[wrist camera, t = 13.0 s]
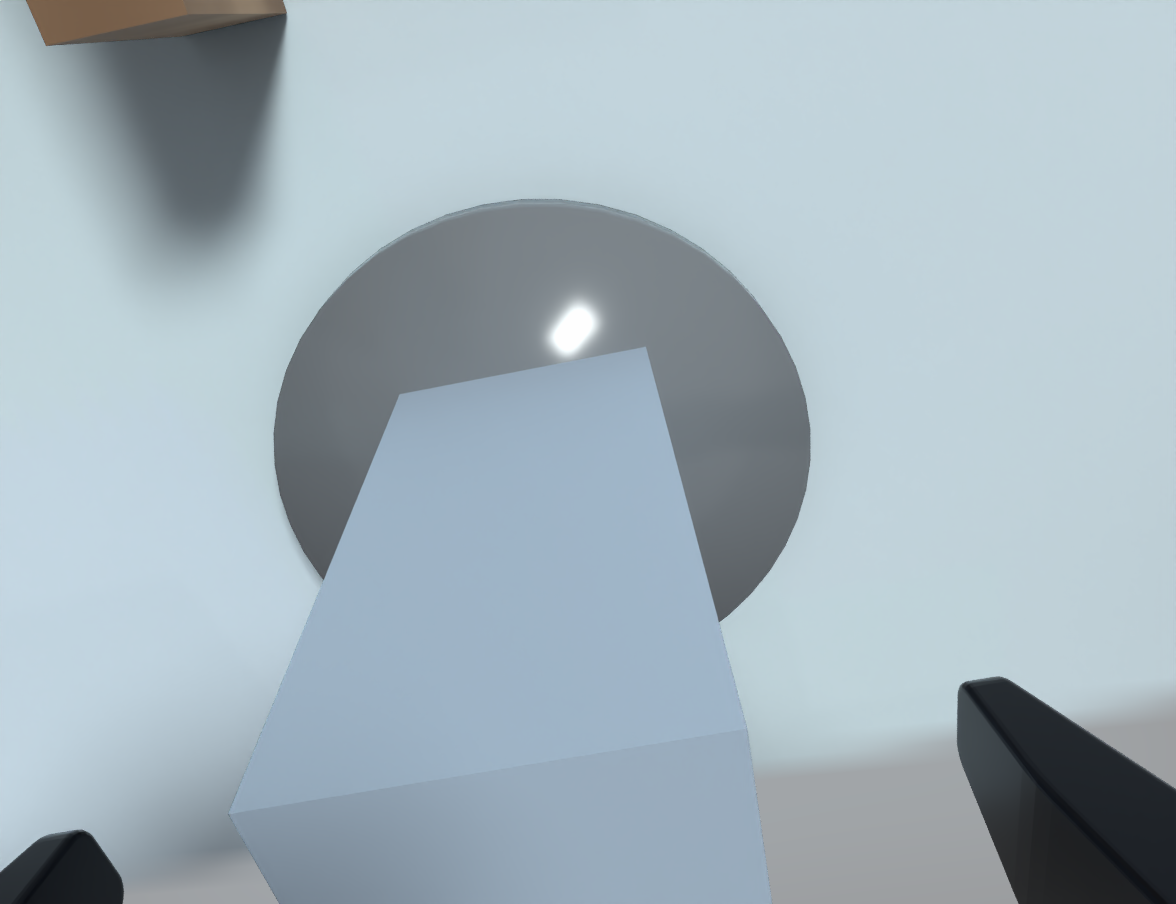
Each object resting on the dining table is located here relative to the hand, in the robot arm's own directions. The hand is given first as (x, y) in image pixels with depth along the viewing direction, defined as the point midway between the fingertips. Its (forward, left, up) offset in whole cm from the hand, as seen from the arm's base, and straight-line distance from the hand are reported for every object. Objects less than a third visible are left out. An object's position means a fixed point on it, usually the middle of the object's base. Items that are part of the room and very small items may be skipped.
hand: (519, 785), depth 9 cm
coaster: (0, 0, -7) cm, 7 cm away
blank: (0, 0, -6) cm, 7 cm away
